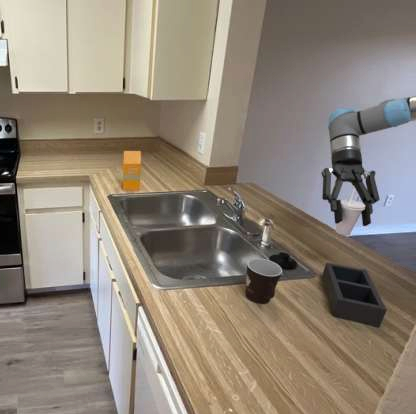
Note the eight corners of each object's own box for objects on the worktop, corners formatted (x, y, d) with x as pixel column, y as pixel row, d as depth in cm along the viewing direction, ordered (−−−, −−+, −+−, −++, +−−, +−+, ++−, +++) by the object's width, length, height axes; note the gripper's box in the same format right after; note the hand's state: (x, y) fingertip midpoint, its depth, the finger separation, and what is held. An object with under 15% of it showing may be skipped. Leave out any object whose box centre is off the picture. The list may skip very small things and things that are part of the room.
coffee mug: (243, 283, 99) (249, 255, 95) (275, 293, 95) (283, 263, 91) (236, 306, 90) (243, 275, 86) (271, 317, 86) (280, 286, 82)
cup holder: (360, 285, 98) (366, 270, 96) (379, 327, 83) (386, 309, 80) (321, 277, 102) (326, 262, 100) (332, 316, 86) (338, 299, 84)
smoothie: (334, 225, 105) (347, 184, 99) (358, 233, 100) (373, 189, 95) (326, 231, 101) (339, 188, 95) (351, 239, 96) (366, 195, 91)
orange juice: (122, 185, 181) (123, 149, 173) (138, 185, 181) (140, 149, 173) (123, 190, 174) (124, 152, 166) (139, 190, 173) (141, 152, 165)
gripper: (374, 162, 105) (384, 230, 97) (306, 158, 109) (309, 223, 101) (389, 149, 98) (400, 222, 90) (316, 146, 102) (320, 215, 94)
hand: (352, 223), depth 95 cm, fingers closed on smoothie, 6 cm apart
